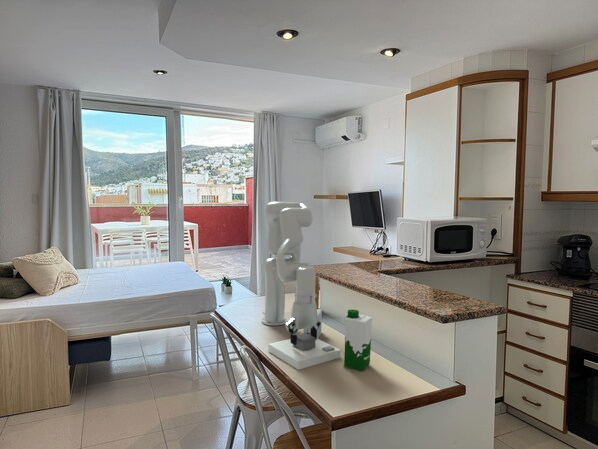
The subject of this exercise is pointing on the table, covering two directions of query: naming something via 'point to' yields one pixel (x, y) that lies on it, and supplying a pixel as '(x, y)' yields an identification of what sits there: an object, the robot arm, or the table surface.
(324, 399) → the table surface
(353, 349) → the milk carton
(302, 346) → the plug
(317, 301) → the coffee package
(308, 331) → the light bulb box
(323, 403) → the table surface
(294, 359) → the socket
